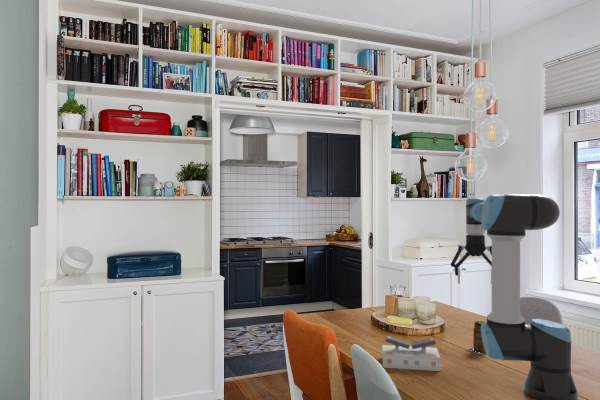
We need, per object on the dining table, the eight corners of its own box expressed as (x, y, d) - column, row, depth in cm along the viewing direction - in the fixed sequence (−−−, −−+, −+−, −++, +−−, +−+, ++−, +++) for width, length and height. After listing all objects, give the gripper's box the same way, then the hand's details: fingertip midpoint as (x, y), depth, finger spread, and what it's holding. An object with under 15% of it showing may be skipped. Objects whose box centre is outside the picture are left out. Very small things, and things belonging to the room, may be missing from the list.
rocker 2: (436, 344, 179) (435, 340, 179) (412, 349, 180) (411, 345, 180) (434, 341, 183) (433, 337, 183) (411, 345, 185) (410, 341, 185)
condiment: (493, 351, 199) (493, 322, 199) (480, 355, 194) (480, 325, 194) (478, 347, 205) (478, 319, 205) (465, 350, 200) (465, 322, 200)
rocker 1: (408, 349, 181) (409, 345, 181) (385, 341, 182) (386, 337, 182) (408, 345, 185) (409, 341, 185) (385, 338, 186) (386, 334, 186)
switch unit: (440, 371, 175) (440, 352, 175) (382, 367, 178) (382, 349, 178) (436, 360, 187) (436, 342, 187) (382, 357, 190) (382, 340, 190)
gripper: (504, 234, 205) (505, 283, 204) (444, 233, 211) (444, 281, 210) (508, 235, 197) (508, 286, 197) (445, 234, 203) (445, 284, 203)
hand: (475, 284), depth 204 cm, fingers open, 13 cm apart
